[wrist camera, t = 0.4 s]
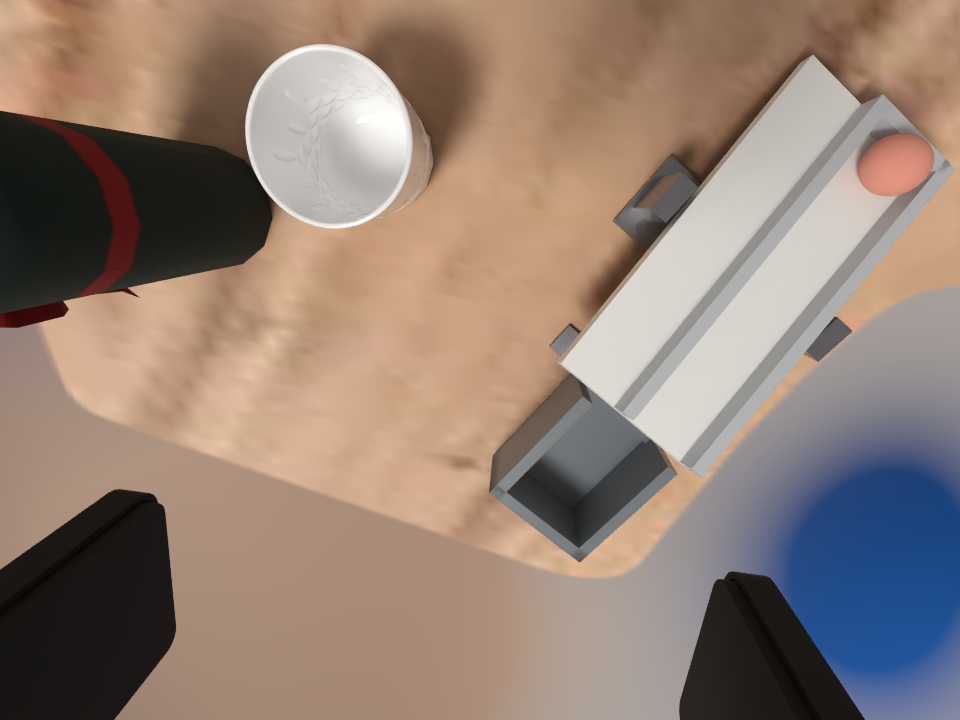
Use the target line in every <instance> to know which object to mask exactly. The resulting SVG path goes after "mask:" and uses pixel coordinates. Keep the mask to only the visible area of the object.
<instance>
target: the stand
mask: <svg viewBox="0 0 960 720" xmlns="http://www.w3.org/2000/svg"><path fill="white" fill-rule="evenodd" d="M701 184H702V183H700V182H699V181H698V180H697V179H696V178H695V177H694V176H693V175H692V174H691V173H690V172H689V171H688V170H687V169H686V168H684V167H683V166H682V165H681V164H680V163H679V162H678V161H677V160H676V159H675V158H674V157H673V156H670V157H669V158H668V159H667V160H666V161H665V162H664V163H663V164H662V165H661V167H660V168H659V169H658V170H657V171H656V172H655V173H654V175H653V176H652V177H651V178H650V179H649V180H648V181H647V182H646V184H645V185H644V186H643V187H642V188H641V189H640V190H639V192H638V193H637V194H636V195H635V196H634V197H633V198H632V200H631V201H630V202H629V203H628V204H627V205H626V206H625V207H624V209H623V210H622V211H621V212H620V213H619V214H618V215H617V217H616V218H615V219H614V220H613V222H615V223H616V224H617V225H618V226H619V227H620V228H621V229H622V230H624V231H625V232H626V233H627V234H628V235H629V236H630V237H631V238H632V239H634V240H635V241H636V242H637V243H638V244H639V245H640V246H641V247H642V248H644V249H645V250H646V251H647V250H648V249H649V248H650V247H651V245H652V244H653V243H654V242H655V240H656V239H657V238H658V237H659V235H660V234H661V233H662V232H663V231H664V229H665V228H666V227H667V226H668V224H669V223H670V222H671V221H672V220H673V218H674V217H675V216H676V215H677V213H678V212H679V211H680V210H681V208H682V207H683V206H684V205H685V204H686V202H687V201H688V200H689V199H690V197H691V196H692V195H693V194H694V193H695V191H696V190H697V189H698V188H699V186H700V185H701ZM851 332H852V330H851V329H850V328H848V327H847V326H846V325H845V324H844V323H843V322H842V321H841V320H840V319H839V318H837V317H835V316H834V318H833V319H832V320H831V321H830V322H829V324H828V325H827V326H826V327H825V328H824V330H823V331H822V332H821V333H820V335H819V336H818V337H817V338H816V339H815V341H814V342H813V343H812V344H811V345H810V347H809V348H808V349H807V350H806V352H805V353H804V355H806V356H808V357H810V358H812V359H814V360H816V361H817V362H819V361H820V360H821V359H822V358H823V357H824V356H825V355H826V354H827V353H829V352H830V351H831V350H832V349H833V348H834V347H835V346H836V345H838V344H839V343H840V342H841V341H842V340H843V339H844V338H845V337H846V336H848V335H849V334H850V333H851ZM579 334H580V333H578V332H577V331H576V330H575V329H574V328H573V327H571V326H570V325H568V326H567V327H566V329H565V330H564V331H563V332H562V333H561V334H560V335H559V336H558V337H557V338H556V339H555V341H554V342H553V343H552V344H551V345H550V347H551V348H552V349H553V350H554V351H555V352H557V353H558V354H559V355H560V356H562V354H563V353H564V352H565V351H566V350H567V348H568V347H569V346H570V345H571V343H572V342H573V341H574V340H575V339H576V337H577V336H578V335H579Z"/></svg>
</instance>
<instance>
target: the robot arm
mask: <svg viewBox="0 0 960 720" xmlns="http://www.w3.org/2000/svg"><path fill="white" fill-rule="evenodd" d="M175 632H176V621H175V610H174V600H173V590H172V579H171V569H170V558H169V547H168V537H167V526H166V516H165V509H164V507H163V505H161V504H159V503H158V501H157V499H156V497H155V496H154V495H153V494H150V493H143V492H136V491H129V490H121V489H118V490H113V491H111V492H109V493H108V494H106V495H105V496H103V497H102V498H101V499H99V500H98V501H97V502H95V503H94V504H92V505H91V506H89V507H88V508H86V509H85V510H84V511H82V512H81V513H79V514H78V515H77V516H75V517H74V518H72V519H71V520H70V521H68V522H67V523H65V524H64V525H63V526H61V527H60V528H58V529H57V530H55V531H54V532H53V533H51V534H50V535H49V536H47V537H46V538H44V539H43V540H41V541H40V542H39V543H37V544H36V545H34V546H33V547H31V549H29V550H27V551H26V552H25V553H23V554H22V555H20V556H19V557H18V558H16V559H15V560H13V561H12V562H11V563H9V564H8V565H6V566H5V567H3V568H2V569H1V570H0V720H114V719H115V718H116V717H117V715H118V714H119V713H120V711H121V710H122V709H123V708H124V706H125V705H126V704H127V703H128V701H129V700H130V699H131V697H132V696H133V695H134V694H135V692H136V691H137V690H138V688H139V687H140V686H141V685H142V683H143V682H144V681H145V680H146V678H147V677H148V676H149V674H150V673H151V672H152V670H153V669H154V668H155V667H156V666H157V664H158V663H159V662H160V660H161V659H162V658H163V656H164V655H165V654H166V653H167V651H168V650H169V648H170V646H171V644H172V642H173V639H174V637H175ZM679 707H680V708H679V713H680V720H865V719H864V718H863V716H862V714H861V713H860V712H859V710H858V709H857V707H856V705H855V704H854V702H853V701H852V700H851V698H850V696H849V695H848V694H847V692H846V691H845V689H844V688H843V686H842V684H841V683H840V681H839V680H838V678H837V677H836V675H835V674H834V672H833V671H832V669H831V668H830V666H829V665H828V663H827V662H826V660H825V659H824V658H823V656H822V654H821V653H820V651H819V650H818V648H817V647H816V645H815V644H814V642H813V641H812V639H811V638H810V636H809V635H808V633H807V632H806V630H805V629H804V627H803V626H802V624H801V623H800V621H799V619H798V618H797V616H796V615H795V613H794V612H793V610H792V609H791V607H790V606H789V604H788V603H787V601H786V600H785V598H784V597H783V595H782V594H781V592H780V591H779V589H778V588H777V586H776V585H775V583H774V582H773V581H772V580H771V579H770V578H769V577H767V576H762V575H755V574H747V573H740V572H729V573H728V574H727V575H726V577H725V579H724V580H722V579H718V580H716V582H715V584H714V586H713V589H712V592H711V596H710V599H709V603H708V606H707V610H706V613H705V616H704V620H703V623H702V627H701V630H700V634H699V637H698V641H697V644H696V647H695V651H694V654H693V658H692V661H691V665H690V669H689V672H688V675H687V679H686V682H685V685H684V689H683V692H682V696H681V699H680V706H679Z"/></svg>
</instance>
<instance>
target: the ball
mask: <svg viewBox="0 0 960 720" xmlns="http://www.w3.org/2000/svg"><path fill="white" fill-rule="evenodd" d="M933 164H934V152H933V149H932V147H931V145H930V144H929V143H928V141H926V140H925V139H924V138H922V137H920V136H918V135H915V134H911V133H899V134H893V135H890V136H887V137H885V138H883V139H881V140H879V141H877V142H876V143H874V144H873V145H872V146H871V147H870V148H869V149H868V150H867V151H866V152H865V154H864V155H863V157H862V159H861V161H860V164H859V168H858V175H859V179H860V182H861V184H862V185H863V186H864V187H865V188H866V189H867V190H868V191H870V192H871V193H873V194H876V195H880V196H896V195H901V194H904V193H906V192H909V191H911V190H913V189H914V188H916V187H917V186H919V185H920V184H921V183H922V182H923V181H924V180H925V179H926V178H927V176H928V175H929V173H930V172H931V169H932V167H933Z"/></svg>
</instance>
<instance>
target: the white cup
mask: <svg viewBox="0 0 960 720" xmlns="http://www.w3.org/2000/svg"><path fill="white" fill-rule="evenodd" d="M245 136H246V145H247V150H248V154H249V158H250V161H251V164H252V167H253V169H254V172H255V174H256V176H257V178H258V180H259V181H260V183H261V185H262V186H263V188H264V189H265V191H266V192H267V193H268V194H269V196H270V197H271V198H272V199H273V200H274V201H275V202H276V203H277V204H278V205H279V206H280V207H281V208H282V209H284V210H285V211H286V212H288V213H289V214H291V215H292V216H294V217H296V218H297V219H299V220H301V221H303V222H306V223H308V224H311V225H315V226H319V227H324V228H347V227H352V226H356V225H359V224H363V223H366V222H370V221H373V220H377V219H380V218H383V217H385V216H388V215H390V214H393V213H395V212H397V211H399V210H401V209H402V208H403V207H406V206H408V205H411V204H412V203H413V202H414V201H415V200H416V199H417V197H418V196H419V195H420V194H421V193H422V192H423V191H424V189H425V188H426V187H427V185H428V181H429V178H430V174H431V171H432V167H433V163H434V162H433V155H432V148H431V141H430V137H429V135H428V134H427V132H426V130H425V129H424V127H423V125H422V122H421V120H420V118H419V117H418V115H417V114H416V112H415V111H414V109H413V108H412V106H411V105H410V103H409V102H408V101H407V99H406V98H405V97H404V96H403V94H402V93H401V92H400V91H399V89H398V88H397V87H396V86H395V84H394V83H393V82H392V81H391V79H390V78H389V77H388V76H387V75H386V73H385V72H384V71H383V70H382V69H381V68H380V67H378V66H377V65H376V64H375V63H374V62H372V61H371V60H370V59H368V58H367V57H365V56H363V55H362V54H360V53H358V52H356V51H353V50H351V49H348V48H345V47H342V46H337V45H330V44H314V45H308V46H303V47H300V48H297V49H294V50H292V51H290V52H288V53H286V54H284V55H283V56H281V57H280V58H279V59H277V60H276V61H275V62H274V63H272V64H271V65H270V66H269V67H268V69H267V70H266V71H265V72H264V73H263V75H262V76H261V77H260V79H259V81H258V82H257V84H256V86H255V88H254V90H253V92H252V95H251V97H250V100H249V104H248V108H247V113H246V122H245Z"/></svg>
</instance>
